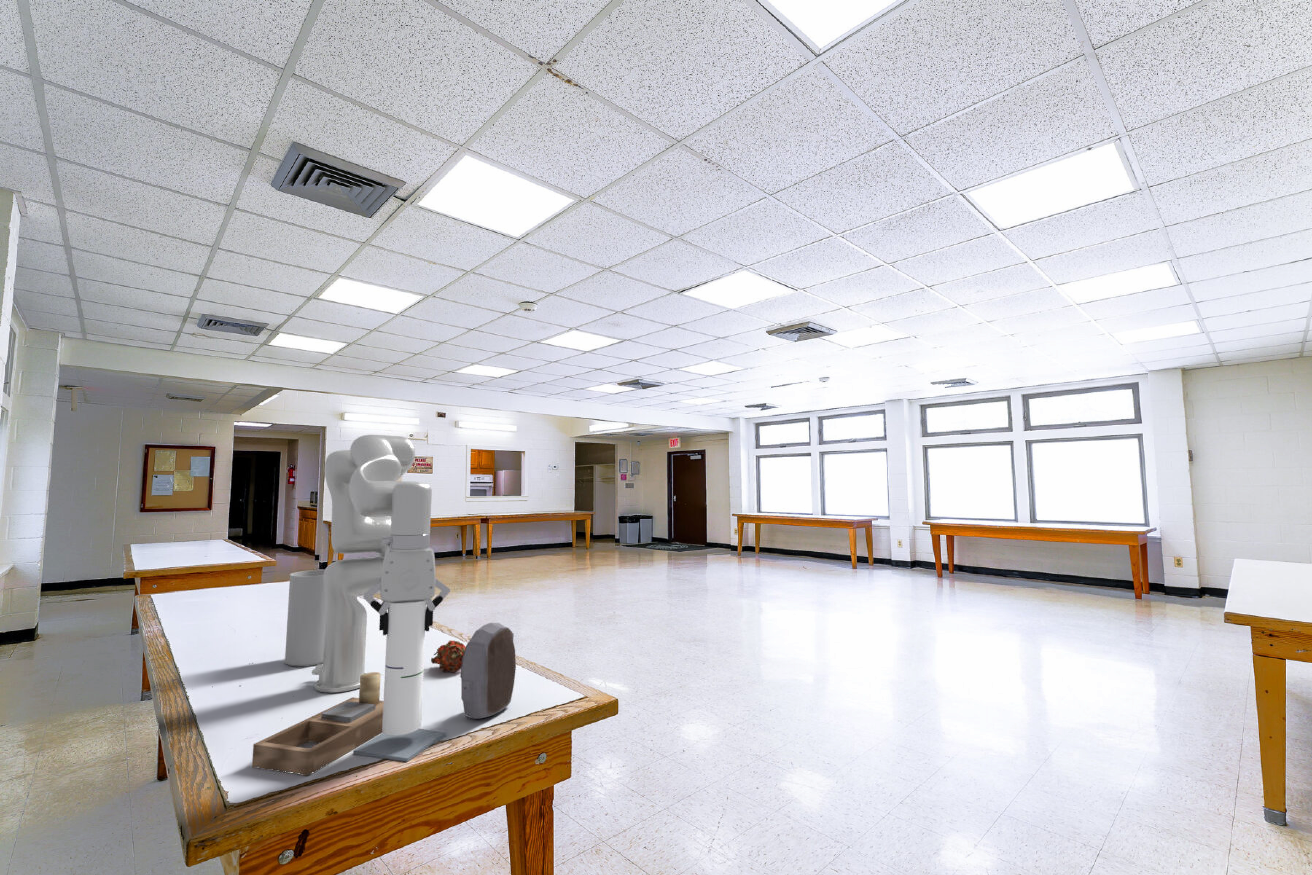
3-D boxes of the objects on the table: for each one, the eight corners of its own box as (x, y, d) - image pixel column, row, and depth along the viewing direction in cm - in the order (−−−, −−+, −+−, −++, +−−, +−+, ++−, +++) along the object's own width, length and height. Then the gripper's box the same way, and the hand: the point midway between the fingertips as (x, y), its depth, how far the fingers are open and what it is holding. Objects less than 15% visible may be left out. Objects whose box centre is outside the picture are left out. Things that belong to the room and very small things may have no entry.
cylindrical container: (390, 720, 119) (395, 596, 121) (425, 719, 120) (430, 596, 122) (376, 735, 112) (382, 603, 114) (414, 734, 113) (420, 603, 115)
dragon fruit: (460, 681, 156) (437, 678, 164) (482, 656, 162) (459, 654, 170) (442, 659, 154) (420, 656, 161) (465, 634, 160) (442, 633, 167)
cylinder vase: (318, 667, 162) (324, 576, 164) (274, 667, 162) (280, 576, 164) (343, 654, 174) (348, 570, 176) (302, 653, 174) (307, 569, 176)
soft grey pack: (479, 727, 124) (482, 631, 125) (447, 721, 127) (451, 627, 128) (519, 702, 138) (522, 616, 139) (490, 698, 141) (492, 613, 142)
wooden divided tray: (252, 766, 106) (255, 710, 106) (351, 715, 129) (353, 669, 130) (308, 775, 103) (311, 717, 103) (399, 721, 126) (401, 674, 127)
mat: (353, 753, 111) (353, 750, 111) (395, 728, 123) (395, 725, 123) (407, 761, 108) (407, 758, 108) (445, 734, 120) (445, 731, 120)
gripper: (362, 546, 112) (357, 641, 110) (457, 543, 119) (453, 631, 118) (362, 542, 118) (358, 631, 117) (452, 539, 126) (449, 623, 125)
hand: (406, 631), depth 117 cm, fingers closed on cylindrical container, 7 cm apart
